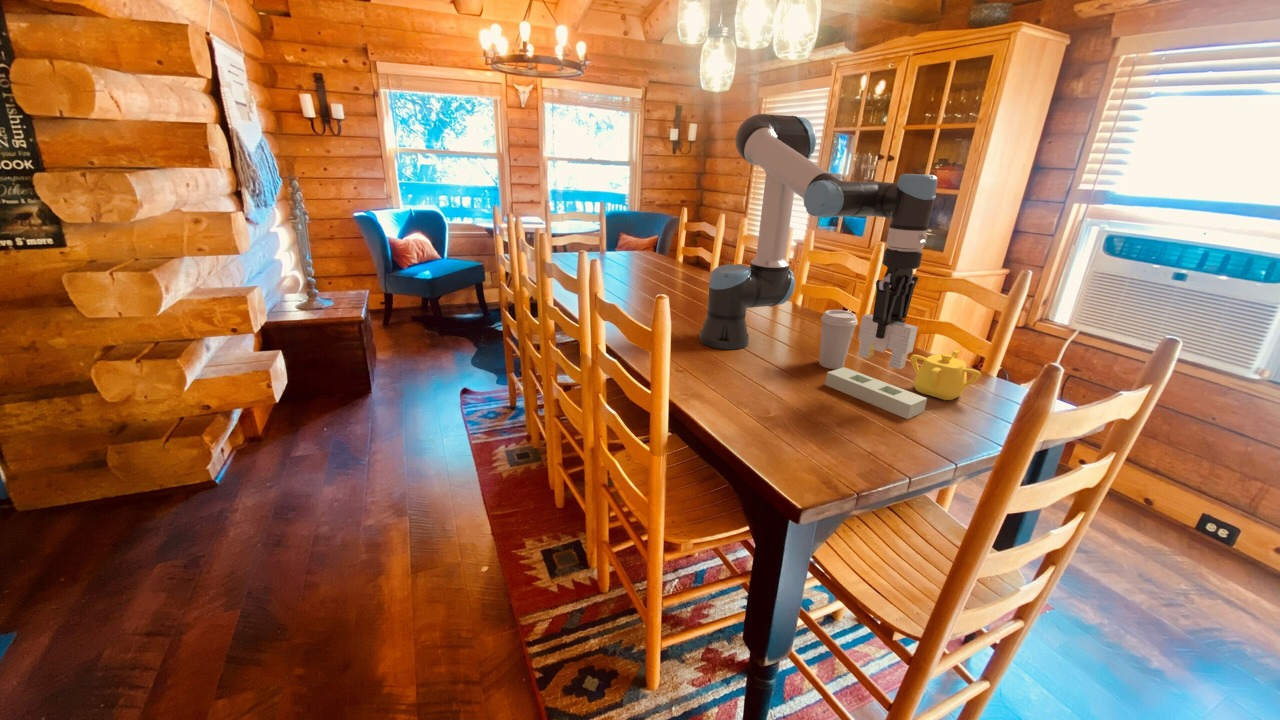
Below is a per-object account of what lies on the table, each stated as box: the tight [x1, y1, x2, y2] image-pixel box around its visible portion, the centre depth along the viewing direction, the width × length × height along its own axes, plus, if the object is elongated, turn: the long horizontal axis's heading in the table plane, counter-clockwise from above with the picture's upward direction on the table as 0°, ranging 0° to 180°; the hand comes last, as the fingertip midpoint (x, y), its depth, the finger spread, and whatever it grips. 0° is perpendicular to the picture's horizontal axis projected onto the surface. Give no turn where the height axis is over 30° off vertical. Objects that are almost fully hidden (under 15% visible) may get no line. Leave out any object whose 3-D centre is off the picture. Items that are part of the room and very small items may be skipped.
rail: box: [825, 366, 928, 420], centre depth 127 cm, size 22×7×4 cm, turn 35°
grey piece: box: [857, 313, 919, 370], centre depth 122 cm, size 12×3×10 cm, turn 35°
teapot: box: [910, 348, 982, 401], centre depth 131 cm, size 14×13×10 cm
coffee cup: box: [819, 309, 859, 370], centre depth 145 cm, size 10×10×15 cm
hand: (883, 349), depth 123 cm, fingers closed on grey piece, 3 cm apart
